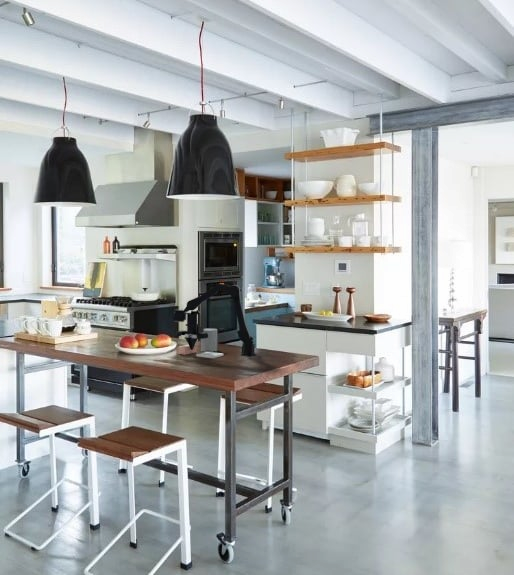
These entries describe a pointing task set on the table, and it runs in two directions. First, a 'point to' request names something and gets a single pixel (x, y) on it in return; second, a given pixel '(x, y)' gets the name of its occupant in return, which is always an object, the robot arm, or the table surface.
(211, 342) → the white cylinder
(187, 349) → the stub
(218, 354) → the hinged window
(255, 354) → the robot arm
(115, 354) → the table surface
